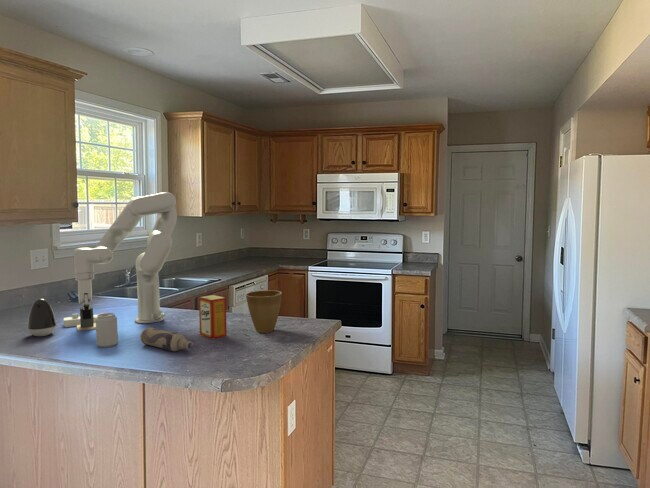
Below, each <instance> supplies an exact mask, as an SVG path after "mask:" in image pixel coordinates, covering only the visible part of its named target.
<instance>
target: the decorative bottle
mask: <svg viewBox="0 0 650 488" xmlns="http://www.w3.org/2000/svg"><path fill="white" fill-rule="evenodd" d="M140 342H141V343H142V344H143V345H146V346H147V345H148V346H151V347H156V348H160V349H163V350H166V351H169V352H179V351H182V350H191V349H194V348H195V347H196V345H195V344H194V343H193V342H192V341H190V340H188V339H186V338H185V336H184V335H183V334H180V333H177V332H172V331H167V330H163V329H158V328H154V327H152V326H151V327H146V328H145V329H143V330H142V331H141V334H140Z"/></svg>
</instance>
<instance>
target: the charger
mask: <svg viewBox="0 0 650 488" xmlns="http://www.w3.org/2000/svg"><path fill="white" fill-rule="evenodd" d="M90 309H91V319H83V312H82V310H83V306H82V307H79V316H80V321H81V328H82V327H92V326H94V324H93V315H94V308H93V306H90Z"/></svg>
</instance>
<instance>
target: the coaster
mask: <svg viewBox="0 0 650 488" xmlns="http://www.w3.org/2000/svg"><path fill="white" fill-rule="evenodd" d="M93 324H94V326H92V327H82V328H81V325H77V326H76V331H78V332H81V331H89V330H96V323H93Z"/></svg>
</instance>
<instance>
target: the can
mask: <svg viewBox="0 0 650 488" xmlns="http://www.w3.org/2000/svg"><path fill="white" fill-rule="evenodd" d="M102 313H103V314H101V313H99V315H98V314H96V315H97V316H98V317H97V318H96V329H95V334H96V335H95V336H96V337H95V338H96V345H97V346H98V347H100V348H110V347H111V348H112V347H115V346H116V345H117V343H119V337H118V336H119V334H118V332H119V331H118V317H117V316H116V314H115V313H113V312H102Z"/></svg>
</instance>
